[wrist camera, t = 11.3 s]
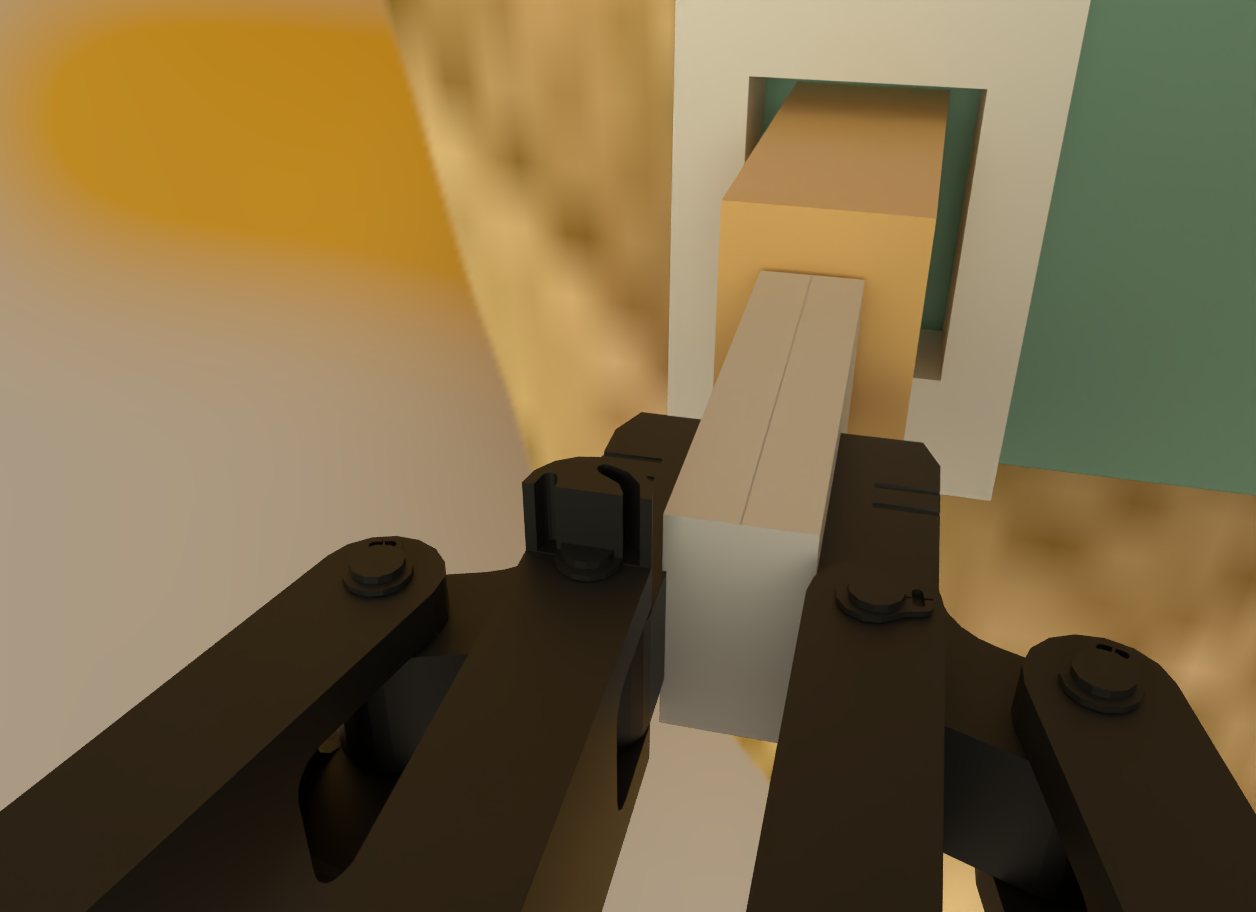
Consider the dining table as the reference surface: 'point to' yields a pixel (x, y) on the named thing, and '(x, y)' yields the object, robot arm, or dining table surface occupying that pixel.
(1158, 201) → the board
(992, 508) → the dining table surface
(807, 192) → the plug
